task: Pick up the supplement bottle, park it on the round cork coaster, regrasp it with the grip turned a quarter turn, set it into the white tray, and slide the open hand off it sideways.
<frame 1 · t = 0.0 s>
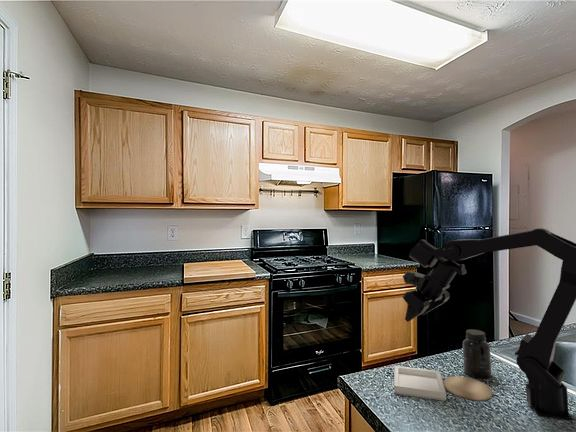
hand: (413, 317, 94), 15 cm above the countertop, tool tilted 35°, fingers open, 9 cm apart
cork coaster: (467, 388, 80), on the countertop
supplement bottle: (477, 374, 88), on the countertop
white tray: (418, 385, 82), on the countertop
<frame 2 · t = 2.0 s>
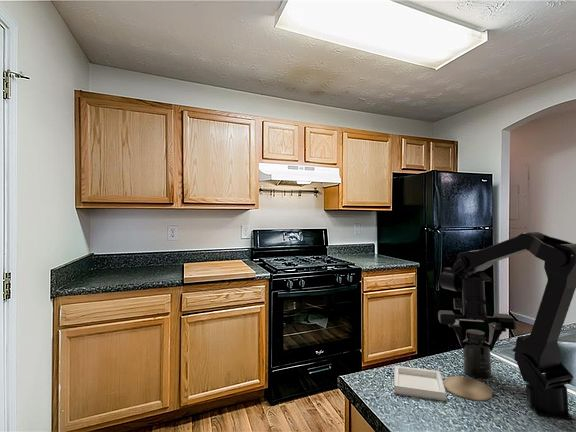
hand: (476, 349, 88), 7 cm above the countertop, tool pointing down, fingers closed on supplement bottle, 7 cm apart
supplement bottle: (477, 374, 88), on the countertop, touching gripper
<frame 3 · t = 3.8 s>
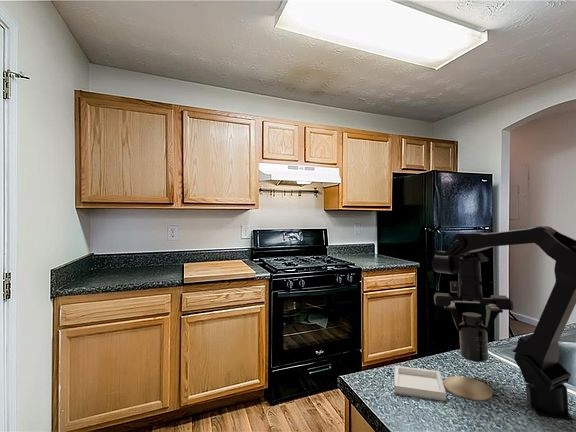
hand: (472, 331, 86), 13 cm above the countertop, tool pointing down, fingers closed on supplement bottle, 7 cm apart
supplement bottle: (474, 358, 86), point 5 cm above the countertop, touching gripper
when the fingers open (9 cm above the countertop, at t = 5.8 s): supplement bottle drops 1 cm, resting on cork coaster.
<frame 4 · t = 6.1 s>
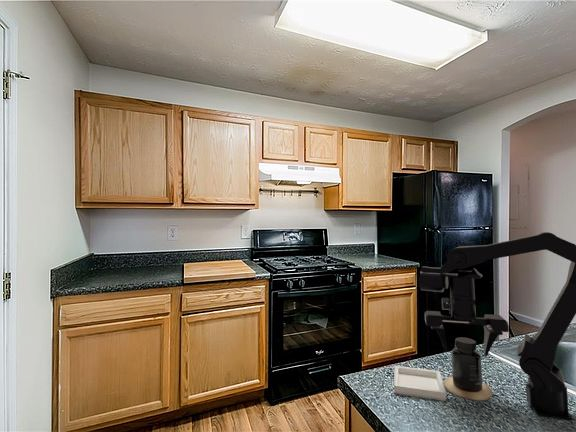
hand: (465, 353, 80), 9 cm above the countertop, tool pointing down, fingers open, 9 cm apart
supplement bottle: (467, 387, 80), resting on cork coaster
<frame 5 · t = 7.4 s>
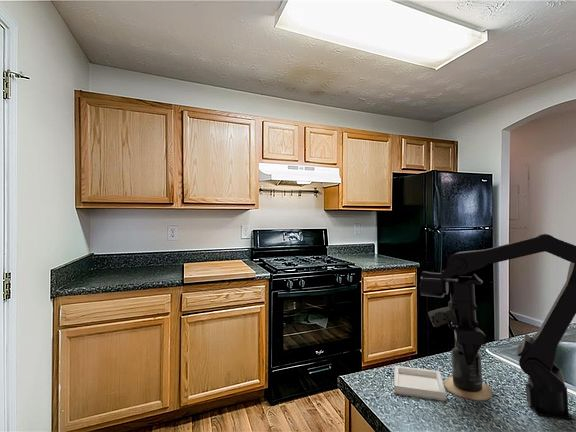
hand: (465, 359, 80), 8 cm above the countertop, tool pointing down, fingers closed on supplement bottle, 7 cm apart
supplement bottle: (467, 387, 80), resting on cork coaster, touching gripper
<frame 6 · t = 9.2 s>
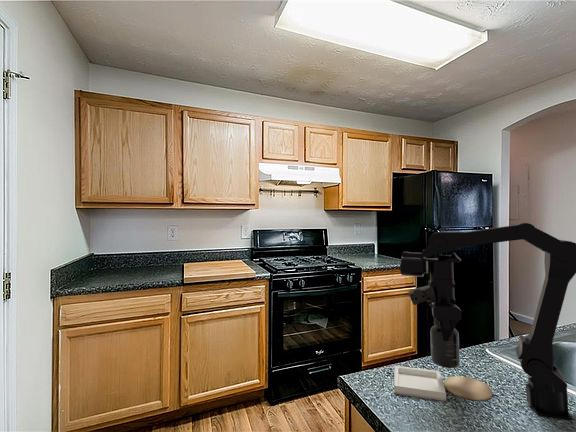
hand: (443, 336, 82), 13 cm above the countertop, tool pointing down, fingers closed on supplement bottle, 7 cm apart
supplement bottle: (445, 363, 81), point 6 cm above the countertop, touching gripper
when the fingers open (9 cm above the countertop, at t = 11.2 s): supplement bottle drops 1 cm, resting on white tray.
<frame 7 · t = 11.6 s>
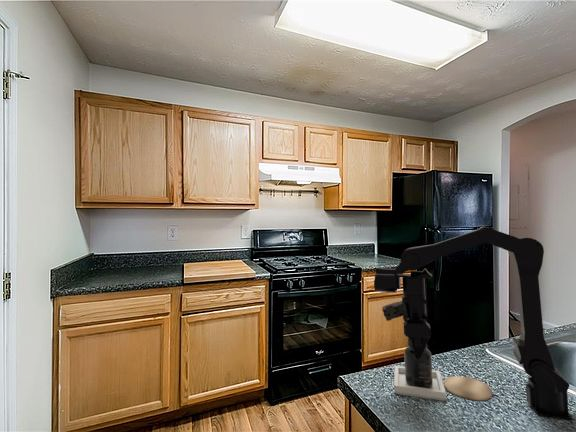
hand: (416, 351, 82), 9 cm above the countertop, tool pointing down, fingers open, 9 cm apart
supplement bottle: (419, 384, 82), resting on white tray
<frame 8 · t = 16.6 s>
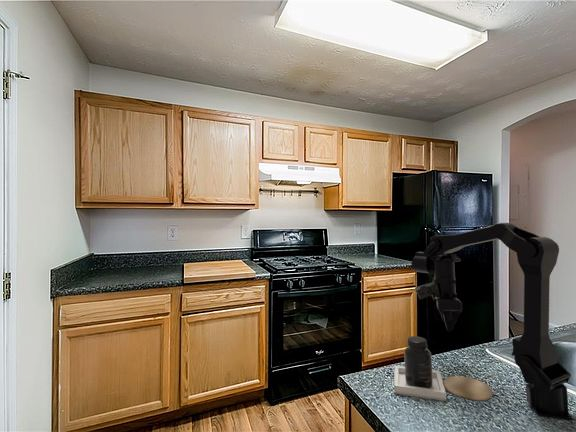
hand: (446, 326, 93), 12 cm above the countertop, tool pointing down, fingers open, 9 cm apart
nothing on the countertop moved.
at the end: supplement bottle 0.3 cm off-centre on the white tray, point 0.3 cm above the white tray's base; supplement bottle tilted 0°; the gripper is holding nothing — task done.
